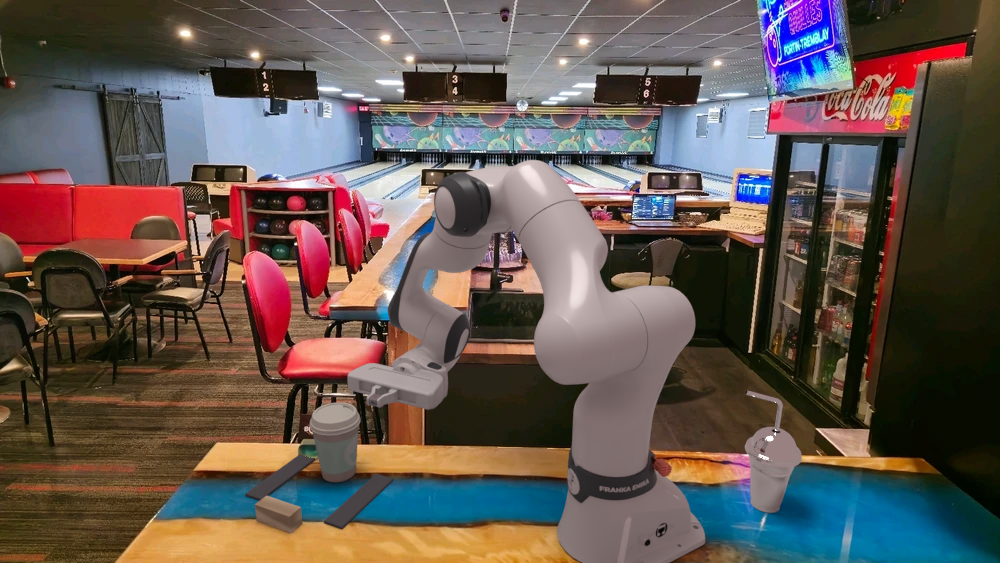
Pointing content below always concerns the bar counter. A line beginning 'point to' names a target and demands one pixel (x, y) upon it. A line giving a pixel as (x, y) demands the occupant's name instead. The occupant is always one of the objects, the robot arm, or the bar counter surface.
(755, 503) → the cup with straw
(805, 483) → the bar counter surface
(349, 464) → the coffee cup
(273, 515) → the maple block
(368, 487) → the gutter strips
